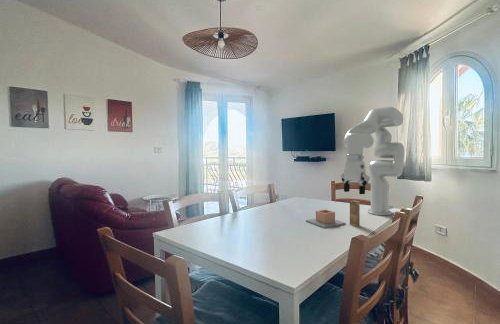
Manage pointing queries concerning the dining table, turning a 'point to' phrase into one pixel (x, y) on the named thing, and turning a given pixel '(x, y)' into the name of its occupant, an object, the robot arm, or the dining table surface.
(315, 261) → the dining table surface
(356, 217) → the stick
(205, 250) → the dining table surface
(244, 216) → the dining table surface
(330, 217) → the square socket base
